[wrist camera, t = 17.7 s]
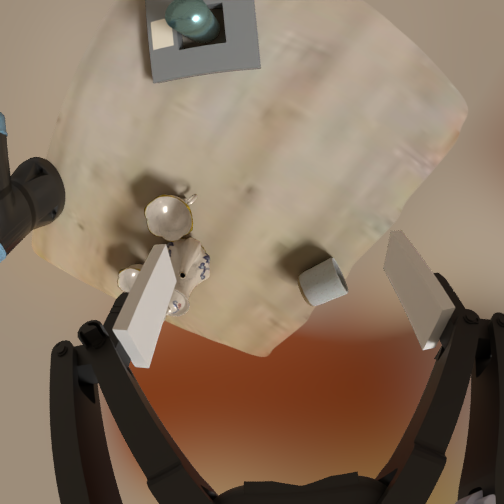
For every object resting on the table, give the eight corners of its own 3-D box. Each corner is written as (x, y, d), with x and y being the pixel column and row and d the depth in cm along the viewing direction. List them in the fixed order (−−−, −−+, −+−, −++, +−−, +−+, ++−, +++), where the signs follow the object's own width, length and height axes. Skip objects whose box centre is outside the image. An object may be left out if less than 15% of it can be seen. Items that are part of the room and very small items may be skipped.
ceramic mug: (293, 269, 57) (297, 295, 51) (328, 249, 55) (337, 274, 48) (317, 299, 62) (322, 325, 56) (349, 282, 59) (358, 308, 53)
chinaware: (162, 168, 48) (114, 202, 34) (244, 210, 50) (226, 261, 36) (127, 276, 62) (92, 325, 48) (190, 309, 64) (167, 365, 50)
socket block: (159, 83, 38) (153, 83, 35) (151, -1, 29) (144, -5, 26) (260, 68, 37) (260, 67, 34) (251, -18, 28) (251, -25, 25)
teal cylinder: (189, 45, 35) (166, 34, 25) (186, 18, 32) (163, 0, 22) (221, 40, 34) (208, 26, 24) (218, 13, 31) (205, -9, 21)
